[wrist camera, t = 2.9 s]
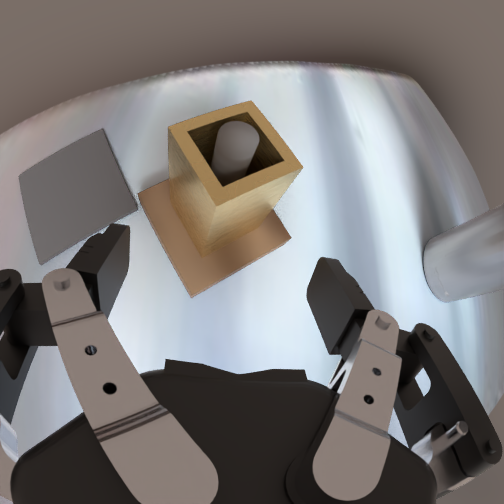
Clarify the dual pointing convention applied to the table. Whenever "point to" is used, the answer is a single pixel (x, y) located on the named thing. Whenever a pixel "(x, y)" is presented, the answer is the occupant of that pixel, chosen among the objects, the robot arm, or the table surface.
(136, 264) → the table surface
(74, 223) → the mat
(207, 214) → the sleeve
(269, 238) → the peg stand
